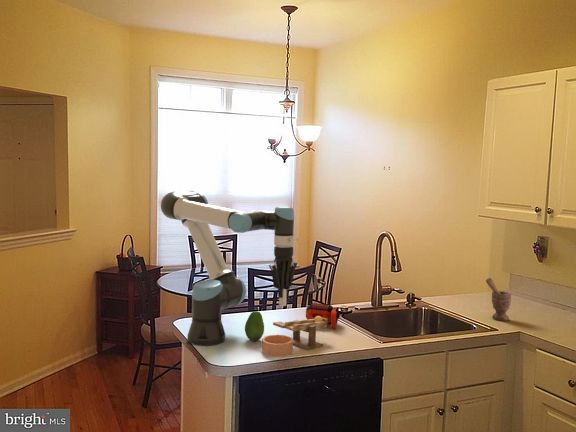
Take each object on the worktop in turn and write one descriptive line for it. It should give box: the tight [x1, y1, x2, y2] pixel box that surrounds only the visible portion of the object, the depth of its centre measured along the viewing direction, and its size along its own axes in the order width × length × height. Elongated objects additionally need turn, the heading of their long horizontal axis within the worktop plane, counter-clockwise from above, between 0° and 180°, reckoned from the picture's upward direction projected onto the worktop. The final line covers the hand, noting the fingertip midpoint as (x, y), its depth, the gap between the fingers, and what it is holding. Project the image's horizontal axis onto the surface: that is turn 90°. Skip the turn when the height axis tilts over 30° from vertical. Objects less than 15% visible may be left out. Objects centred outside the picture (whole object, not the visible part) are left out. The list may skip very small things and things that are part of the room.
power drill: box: [305, 302, 341, 330], centre depth 240 cm, size 15×9×15 cm
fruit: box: [244, 310, 265, 342], centre depth 215 cm, size 8×8×12 cm
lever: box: [272, 317, 328, 333], centre depth 214 cm, size 19×12×4 cm, turn 131°
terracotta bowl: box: [261, 334, 294, 357], centre depth 203 cm, size 12×12×4 cm
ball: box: [315, 316, 322, 322], centre depth 217 cm, size 3×3×3 cm
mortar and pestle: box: [485, 277, 512, 322], centre depth 256 cm, size 12×9×20 cm
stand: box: [291, 319, 324, 351], centre depth 212 cm, size 8×13×8 cm, turn 41°
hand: (282, 305), depth 211 cm, fingers closed
